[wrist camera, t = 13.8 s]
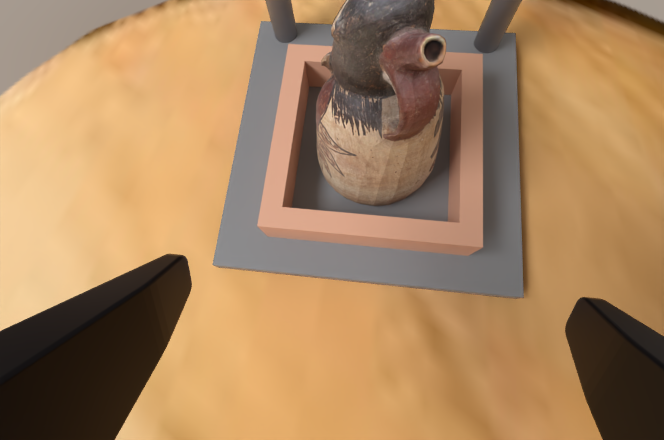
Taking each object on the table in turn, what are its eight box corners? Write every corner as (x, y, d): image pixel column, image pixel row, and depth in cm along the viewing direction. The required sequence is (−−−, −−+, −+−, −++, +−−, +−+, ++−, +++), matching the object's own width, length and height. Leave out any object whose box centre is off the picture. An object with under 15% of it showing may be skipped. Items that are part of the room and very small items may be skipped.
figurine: (406, 93, 24) (456, -116, 13) (449, 187, 22) (555, 41, 11) (305, 126, 24) (260, -56, 12) (339, 224, 22) (326, 116, 10)
